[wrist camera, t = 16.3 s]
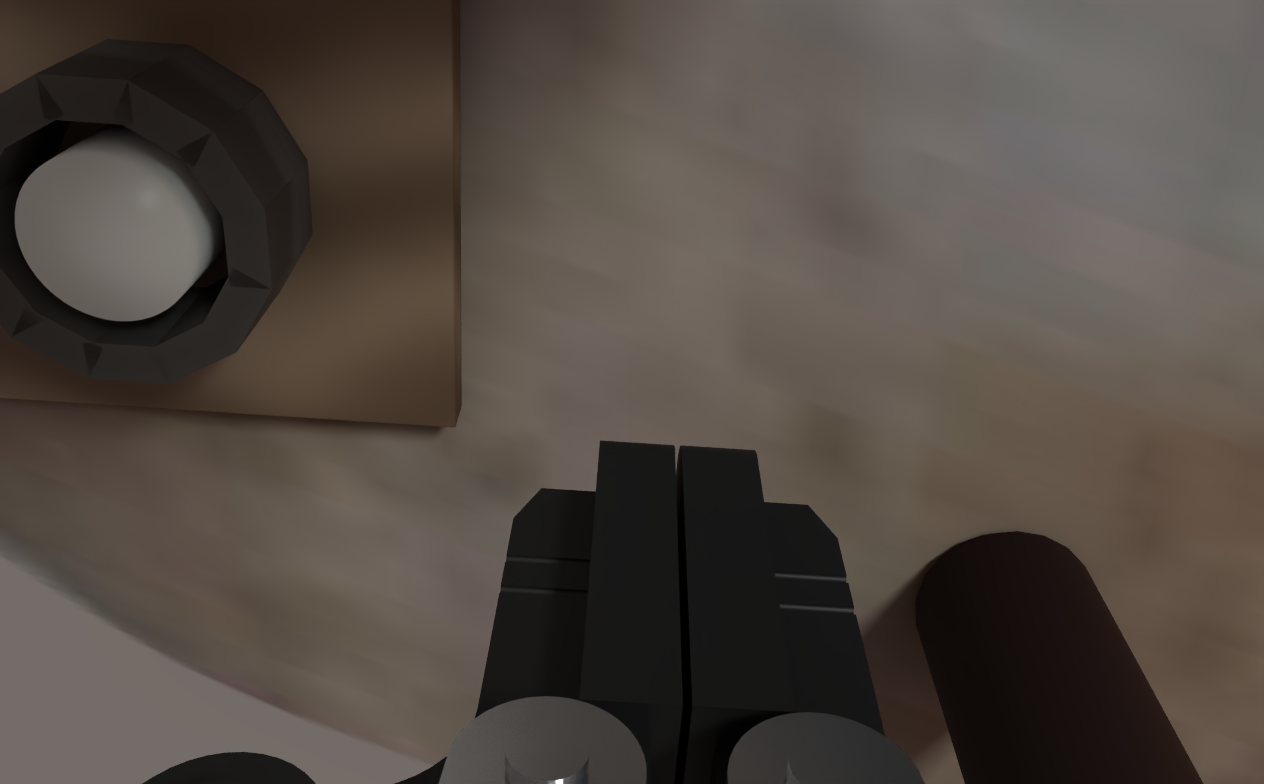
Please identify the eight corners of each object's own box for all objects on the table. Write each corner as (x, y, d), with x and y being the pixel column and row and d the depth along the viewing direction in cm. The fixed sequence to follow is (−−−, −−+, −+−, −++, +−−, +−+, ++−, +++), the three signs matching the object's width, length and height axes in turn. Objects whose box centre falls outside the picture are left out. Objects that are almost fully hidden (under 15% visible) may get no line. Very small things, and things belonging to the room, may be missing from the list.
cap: (72, 105, 35) (-2, 146, 31) (237, 115, 35) (183, 157, 31) (99, 260, 38) (32, 316, 34) (253, 268, 38) (206, 325, 34)
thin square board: (-158, -113, 34) (-308, -92, 29) (459, -69, 34) (423, -40, 29) (-44, 373, 41) (-146, 462, 36) (461, 406, 42) (433, 498, 36)
